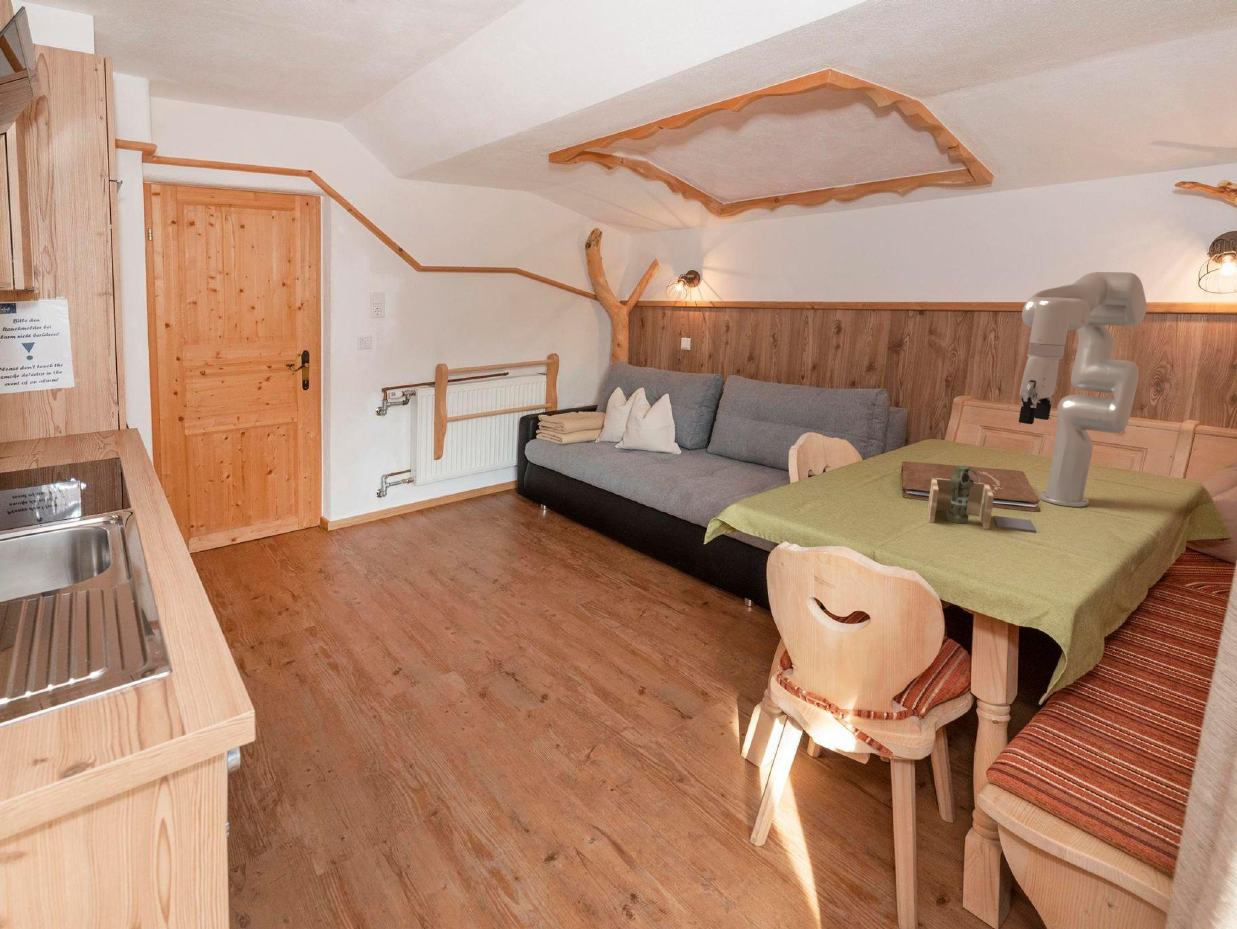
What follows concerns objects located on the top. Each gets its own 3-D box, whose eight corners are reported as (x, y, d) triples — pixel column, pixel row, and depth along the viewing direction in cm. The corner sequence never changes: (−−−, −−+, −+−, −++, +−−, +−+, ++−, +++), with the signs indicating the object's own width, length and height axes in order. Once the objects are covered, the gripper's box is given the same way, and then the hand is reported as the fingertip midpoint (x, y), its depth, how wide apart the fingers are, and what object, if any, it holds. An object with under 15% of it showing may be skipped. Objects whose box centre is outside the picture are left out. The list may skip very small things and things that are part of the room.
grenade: (937, 519, 197) (945, 466, 194) (951, 515, 201) (959, 462, 197) (964, 527, 192) (972, 472, 188) (977, 522, 196) (985, 468, 192)
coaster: (993, 517, 200) (993, 515, 200) (1030, 522, 197) (1030, 520, 197) (997, 527, 192) (997, 525, 192) (1035, 532, 189) (1036, 530, 189)
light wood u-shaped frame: (927, 508, 207) (931, 477, 205) (983, 514, 202) (988, 483, 200) (929, 522, 195) (933, 489, 193) (988, 529, 190) (994, 496, 188)
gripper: (1042, 348, 184) (1031, 415, 188) (1014, 351, 173) (1003, 422, 177) (1075, 351, 179) (1063, 419, 183) (1049, 354, 168) (1036, 427, 172)
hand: (1033, 421), depth 180 cm, fingers open, 9 cm apart
